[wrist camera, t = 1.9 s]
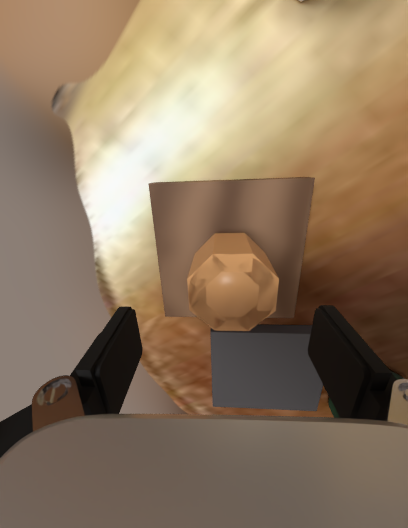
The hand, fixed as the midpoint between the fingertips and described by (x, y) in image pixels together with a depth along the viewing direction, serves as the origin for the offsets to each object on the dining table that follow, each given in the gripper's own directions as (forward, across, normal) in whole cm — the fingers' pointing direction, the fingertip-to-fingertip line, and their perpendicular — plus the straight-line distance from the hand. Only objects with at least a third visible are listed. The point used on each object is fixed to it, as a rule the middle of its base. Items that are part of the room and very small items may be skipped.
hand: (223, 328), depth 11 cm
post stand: (+13, -1, 0) cm, 13 cm away
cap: (+9, -1, 0) cm, 9 cm away
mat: (+12, -6, +16) cm, 21 cm away
